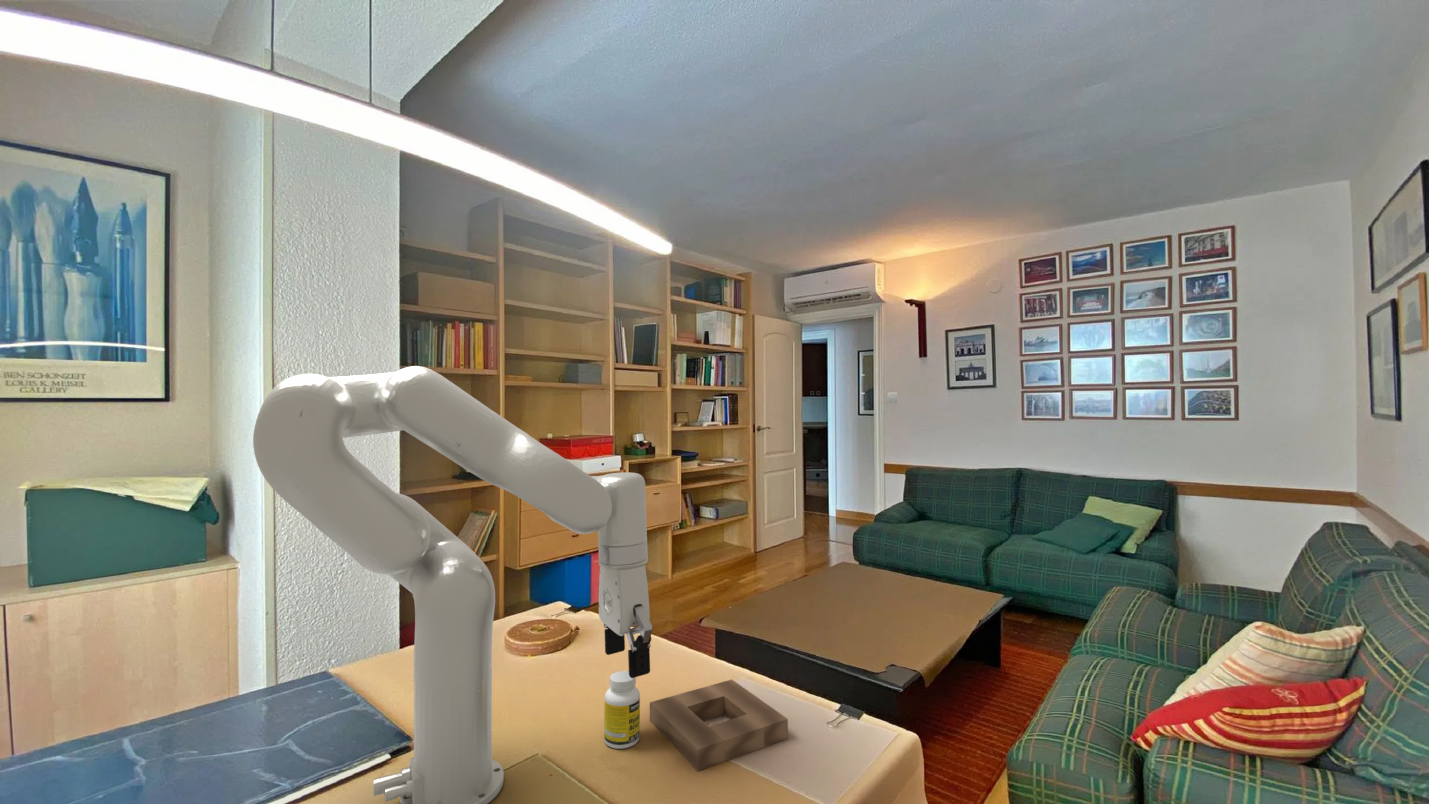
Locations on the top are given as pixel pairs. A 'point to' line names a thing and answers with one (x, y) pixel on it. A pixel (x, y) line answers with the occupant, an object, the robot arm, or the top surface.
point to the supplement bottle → (622, 711)
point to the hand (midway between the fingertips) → (626, 663)
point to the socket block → (724, 740)
